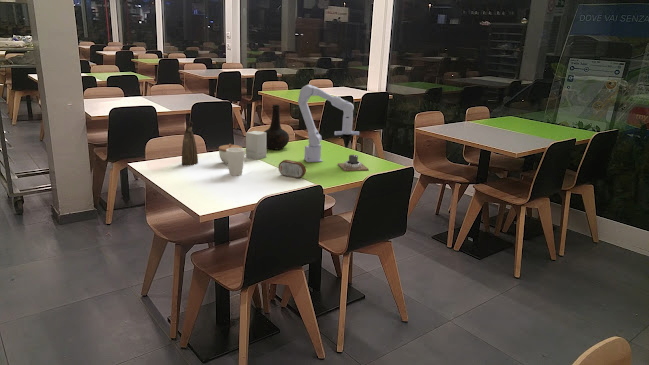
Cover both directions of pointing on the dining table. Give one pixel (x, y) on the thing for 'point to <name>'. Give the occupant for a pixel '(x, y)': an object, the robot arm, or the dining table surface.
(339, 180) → the dining table surface
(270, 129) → the dark vase
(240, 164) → the foam cup
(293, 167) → the tin
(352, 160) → the dark grey cylinder peg
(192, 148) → the statue
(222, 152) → the lidded bowl
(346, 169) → the octagonal socket plate
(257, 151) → the supplement box
